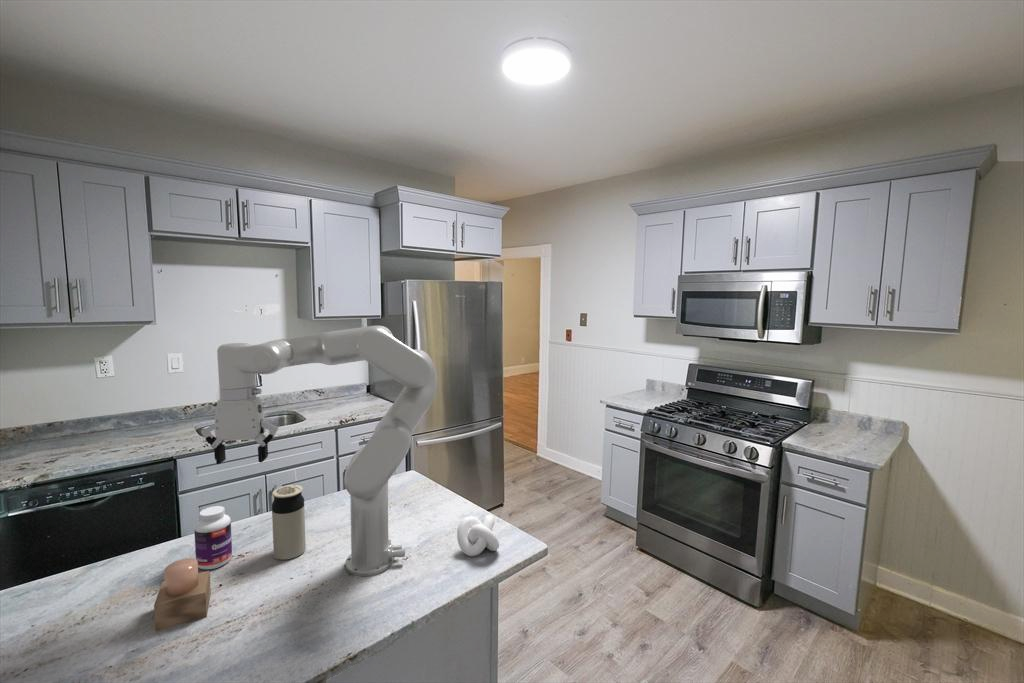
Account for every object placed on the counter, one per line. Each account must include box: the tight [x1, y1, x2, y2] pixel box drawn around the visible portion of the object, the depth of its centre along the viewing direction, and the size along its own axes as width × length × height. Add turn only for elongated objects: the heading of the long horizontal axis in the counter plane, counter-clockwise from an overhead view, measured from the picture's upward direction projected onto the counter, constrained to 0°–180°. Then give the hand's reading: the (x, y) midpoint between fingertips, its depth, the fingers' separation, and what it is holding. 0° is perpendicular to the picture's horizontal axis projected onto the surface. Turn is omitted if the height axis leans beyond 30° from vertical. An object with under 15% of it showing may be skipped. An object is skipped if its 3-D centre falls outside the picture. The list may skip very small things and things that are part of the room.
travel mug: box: [271, 484, 307, 560], centre depth 124 cm, size 8×8×18 cm
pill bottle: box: [193, 505, 233, 570], centre depth 119 cm, size 8×8×14 cm
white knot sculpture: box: [456, 514, 500, 557], centre depth 127 cm, size 11×12×9 cm
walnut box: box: [153, 570, 212, 632], centre depth 101 cm, size 9×9×6 cm
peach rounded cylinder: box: [163, 557, 199, 596], centre depth 100 cm, size 6×6×5 cm
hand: (242, 461), depth 112 cm, fingers open, 9 cm apart
